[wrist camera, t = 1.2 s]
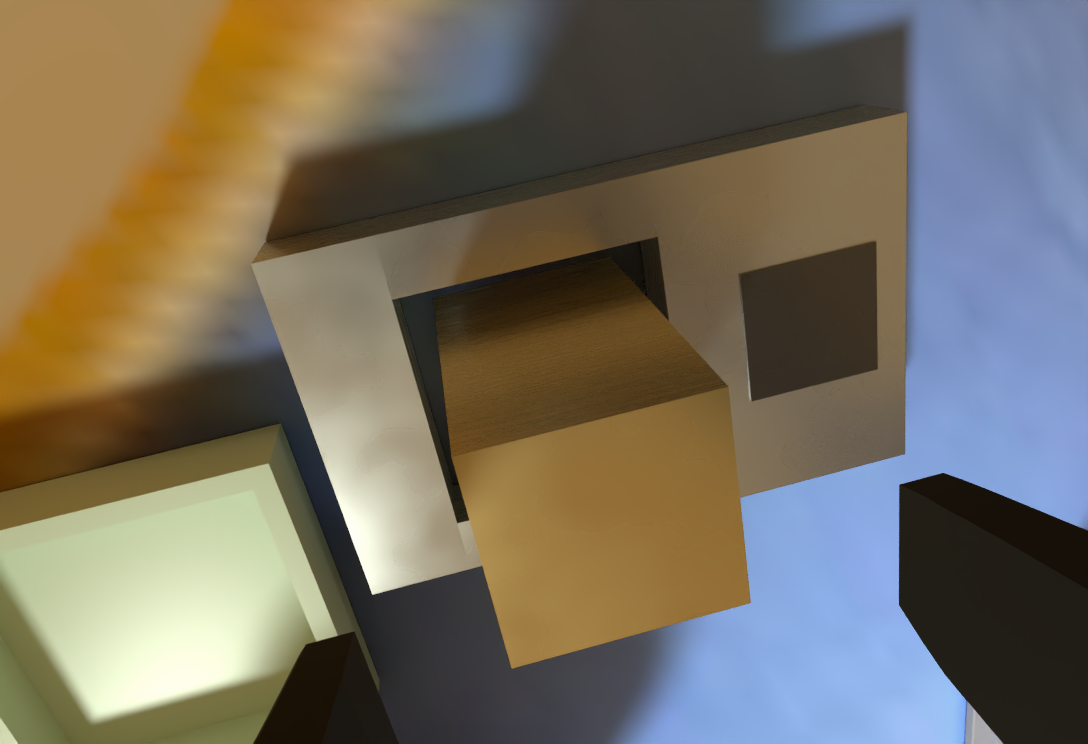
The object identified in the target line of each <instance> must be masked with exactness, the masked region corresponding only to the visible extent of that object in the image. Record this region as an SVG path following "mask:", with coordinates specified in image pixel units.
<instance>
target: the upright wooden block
mask: <svg viewBox="0 0 1088 744" xmlns="http://www.w3.org/2000/svg"><path fill="white" fill-rule="evenodd" d="M433 303H434V312H435V320H436V329H437V338H438V346H439V355H440V363H441V372H442V380H443V389H444V397H445V406H446V414H447V423H448V432H449V440H450V449H451V457H452V461H453V464H454V468H455V471H456V475H457V478H458V482H459V485H460V489H461V492H462V496H463V499H464V503H465V506H466V510H467V513H468V517H469V520H470V524H471V527H472V531H473V534H474V538H475V542H476V545H477V549H478V552H479V556H480V559H481V563H482V566H483V570H484V573H485V577H486V580H487V584H488V587H489V591H490V594H491V598H492V601H493V605H494V608H495V612H496V615H497V619H498V622H499V626H500V629H501V633H502V637H503V640H504V644H505V647H506V651H507V654H508V658H509V661H510V665H511V668H516V667H520V666H523V665H527V664H530V663H534V662H538V661H541V660H545V659H549V658H552V657H556V656H560V655H563V654H567V653H570V652H574V651H578V650H581V649H585V648H589V647H592V646H596V645H600V644H603V643H607V642H610V641H614V640H618V639H621V638H625V637H629V636H632V635H636V634H640V633H643V632H647V631H650V630H654V629H658V628H661V627H665V626H669V625H672V624H676V623H680V622H683V621H687V620H690V619H694V618H698V617H701V616H705V615H709V614H712V613H716V612H720V611H723V610H727V609H730V608H734V607H738V606H741V605H745V604H749V603H751V601H750V591H749V581H748V571H747V562H746V552H745V542H744V532H743V523H742V513H741V503H740V493H739V483H738V474H737V464H736V454H735V444H734V435H733V425H732V415H731V405H730V395H729V387H728V385H727V384H726V383H725V382H724V381H723V380H722V379H721V378H720V377H719V376H718V374H717V373H716V372H715V371H714V370H713V369H712V368H711V367H710V366H709V365H708V364H707V362H706V361H705V360H704V359H703V358H702V357H701V356H700V355H699V354H698V353H697V351H696V350H695V349H694V348H693V347H692V346H691V345H690V344H689V343H688V342H687V341H686V339H685V338H684V337H683V336H682V335H681V334H680V333H679V332H678V331H677V330H676V328H675V327H674V326H673V325H672V324H671V323H670V322H669V321H668V320H667V319H666V318H665V316H664V315H663V314H662V313H661V312H660V311H659V310H658V309H657V308H656V307H655V305H654V304H653V303H652V302H651V301H650V300H649V299H648V298H647V297H646V296H645V294H644V293H643V292H642V291H641V290H640V289H639V288H638V287H637V286H636V285H635V284H634V282H633V281H632V280H631V279H630V278H629V277H628V276H627V275H626V274H625V273H624V271H623V270H622V269H621V268H620V267H619V266H618V265H617V264H616V263H615V262H614V261H613V259H612V258H611V257H610V256H609V257H604V258H600V259H596V260H592V261H588V262H583V263H579V264H575V265H571V266H567V267H563V268H558V269H554V270H550V271H546V272H542V273H537V274H533V275H529V276H525V277H521V278H516V279H512V280H508V281H504V282H500V283H496V284H491V285H487V286H483V287H479V288H475V289H470V290H466V291H462V292H458V293H454V294H449V295H445V296H441V297H437V298H433Z"/></svg>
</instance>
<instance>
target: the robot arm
mask: <svg viewBox="0 0 1088 744" xmlns="http://www.w3.org/2000/svg"><path fill="white" fill-rule="evenodd" d="M899 606H900V607H901V609H902V610H903V612H904V613H905V615H906V617H907V618H908V620H909V621H910V623H911V624H912V626H913V628H914V629H915V631H916V632H917V634H918V635H919V637H920V638H921V640H922V642H923V643H924V645H925V646H926V647H927V649H928V650H929V652H930V653H931V655H932V656H933V658H934V659H935V661H936V662H937V664H938V665H939V667H940V668H941V669H942V671H943V672H944V674H945V675H946V676H947V677H948V679H949V680H950V681H951V682H952V683H953V685H954V686H955V687H956V688H957V690H958V691H959V692H960V693H961V694H962V696H963V697H964V698H965V699H966V700H967V714H966V733H965V744H1088V531H1087V530H1085V529H1082V528H1080V527H1077V526H1075V525H1073V524H1070V523H1068V522H1065V521H1063V520H1060V519H1058V518H1055V517H1053V516H1051V515H1048V514H1046V513H1043V512H1041V511H1039V510H1036V509H1034V508H1031V507H1029V506H1026V505H1024V504H1022V503H1019V502H1017V501H1014V500H1012V499H1009V498H1007V497H1005V496H1002V495H1000V494H997V493H995V492H992V491H990V490H987V489H985V488H982V487H980V486H977V485H975V484H972V483H970V482H967V481H964V480H962V479H959V478H956V477H953V476H950V475H948V474H945V473H941V474H938V475H934V476H930V477H926V478H923V479H919V480H915V481H912V482H908V483H904V484H900V485H899ZM253 744H398V741H397V739H396V736H395V734H394V731H393V728H392V726H391V723H390V721H389V718H388V716H387V713H386V711H385V708H384V705H383V703H382V700H381V698H380V695H379V693H378V690H377V687H376V685H375V682H374V680H373V677H372V675H371V672H370V670H369V667H368V664H367V662H366V659H365V657H364V654H363V652H362V649H361V646H360V644H359V641H358V639H357V636H356V634H355V631H353V632H350V633H346V634H342V635H339V636H335V637H331V638H327V639H324V640H320V641H316V642H312V643H309V644H306V645H305V647H304V648H303V650H302V651H301V653H300V654H299V656H298V658H297V660H296V662H295V664H294V666H293V668H292V670H291V672H290V674H289V675H288V677H287V679H286V681H285V683H284V685H283V687H282V689H281V691H280V693H279V695H278V697H277V699H276V701H275V703H274V705H273V707H272V708H271V710H270V712H269V714H268V716H267V718H266V720H265V722H264V724H263V726H262V727H261V729H260V731H259V733H258V735H257V737H256V739H255V741H254V743H253Z"/></svg>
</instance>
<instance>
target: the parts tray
mask: <svg viewBox="0 0 1088 744" xmlns="http://www.w3.org/2000/svg"><path fill="white" fill-rule="evenodd" d="M353 631H355V634H356V636H357V639H358V641H359V644H360V646H361V649H362V652H363V654H364V657H365V659H366V662H367V664H368V667H369V670H370V672H371V675H372V677H373V680H374V682H375V685H376V687H377V690H378V693H379V687H380V680H379V677H378V674H377V672H376V669H375V667H374V664H373V661H372V659H371V656H370V654H369V651H368V648H367V646H366V643H365V641H364V638H363V635H362V633H361V630H360V628H359V625H358V622H357V620H356V617H355V615H354V612H353V609H352V607H351V604H350V602H349V599H348V596H347V594H346V591H345V589H344V586H343V583H342V581H341V578H340V576H339V573H338V570H337V568H336V565H335V563H334V560H333V557H332V555H331V552H330V550H329V547H328V544H327V542H326V539H325V537H324V534H323V531H322V529H321V526H320V524H319V521H318V518H317V516H316V513H315V511H314V508H313V506H312V503H311V500H310V498H309V495H308V493H307V490H306V487H305V485H304V482H303V480H302V477H301V474H300V472H299V469H298V467H297V464H296V461H295V459H294V456H293V454H292V451H291V448H290V446H289V443H288V441H287V438H286V435H285V433H284V430H283V428H282V425H281V423H280V424H276V425H272V426H268V427H264V428H260V429H256V430H252V431H247V432H243V433H239V434H235V435H231V436H227V437H223V438H219V439H215V440H211V441H207V442H203V443H199V444H195V445H191V446H187V447H183V448H179V449H174V450H170V451H166V452H162V453H158V454H154V455H150V456H146V457H142V458H138V459H134V460H130V461H126V462H122V463H118V464H114V465H110V466H106V467H101V468H97V469H93V470H89V471H85V472H81V473H77V474H73V475H69V476H65V477H61V478H57V479H53V480H49V481H45V482H41V483H37V484H33V485H29V486H24V487H20V488H16V489H12V490H8V491H4V492H0V744H253V743H254V741H255V739H256V737H257V735H258V733H259V731H260V729H261V727H262V726H263V724H264V722H265V720H266V718H267V716H268V714H269V712H270V710H271V708H272V707H273V705H274V703H275V701H276V699H277V697H278V695H279V693H280V691H281V689H282V687H283V685H284V683H285V681H286V679H287V677H288V675H289V674H290V672H291V670H292V668H293V666H294V664H295V662H296V660H297V658H298V656H299V654H300V653H301V651H302V650H303V648H304V647H305V645H306V644H309V643H312V642H316V641H320V640H324V639H327V638H331V637H335V636H339V635H342V634H346V633H350V632H353Z"/></svg>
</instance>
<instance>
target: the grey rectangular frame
mask: <svg viewBox="0 0 1088 744" xmlns="http://www.w3.org/2000/svg"><path fill="white" fill-rule="evenodd" d="M906 206H907V112H904V111H898V110H892V109H886V108H880V107H874V106H868V105H861V106H857V107H852V108H848V109H844V110H839V111H835V112H831V113H826V114H822V115H818V116H813V117H809V118H805V119H800V120H796V121H792V122H787V123H783V124H779V125H774V126H770V127H765V128H761V129H757V130H752V131H748V132H744V133H739V134H735V135H731V136H726V137H722V138H718V139H713V140H709V141H705V142H700V143H696V144H692V145H687V146H683V147H679V148H674V149H670V150H665V151H661V152H657V153H652V154H648V155H644V156H639V157H635V158H631V159H626V160H622V161H618V162H613V163H609V164H605V165H600V166H596V167H592V168H587V169H583V170H579V171H574V172H570V173H565V174H561V175H557V176H552V177H548V178H544V179H539V180H535V181H531V182H526V183H522V184H518V185H513V186H509V187H505V188H500V189H496V190H492V191H487V192H483V193H479V194H474V195H470V196H465V197H461V198H457V199H452V200H448V201H444V202H439V203H435V204H431V205H426V206H422V207H418V208H413V209H409V210H405V211H400V212H396V213H392V214H387V215H383V216H379V217H374V218H370V219H365V220H361V221H357V222H352V223H348V224H344V225H339V226H335V227H331V228H326V229H322V230H318V231H313V232H309V233H305V234H300V235H296V236H292V237H287V238H283V239H279V240H274V241H270V242H265V243H264V244H263V246H262V248H261V249H260V251H259V252H258V254H257V255H256V257H255V259H254V260H253V262H252V263H251V265H252V268H253V271H254V273H255V276H256V279H257V282H258V284H259V287H260V290H261V292H262V295H263V298H264V301H265V303H266V306H267V309H268V312H269V314H270V317H271V320H272V322H273V325H274V328H275V331H276V333H277V336H278V339H279V342H280V344H281V347H282V350H283V352H284V355H285V358H286V361H287V363H288V366H289V369H290V372H291V374H292V377H293V380H294V382H295V385H296V388H297V391H298V393H299V396H300V399H301V402H302V404H303V407H304V410H305V412H306V415H307V418H308V421H309V423H310V426H311V429H312V431H313V434H314V437H315V440H316V442H317V445H318V448H319V451H320V453H321V456H322V459H323V461H324V464H325V467H326V470H327V472H328V475H329V478H330V481H331V483H332V486H333V489H334V491H335V494H336V497H337V500H338V502H339V505H340V508H341V511H342V513H343V516H344V519H345V521H346V524H347V527H348V530H349V532H350V535H351V538H352V541H353V543H354V546H355V549H356V551H357V554H358V557H359V560H360V562H361V565H362V568H363V571H364V573H365V576H366V579H367V581H368V584H369V587H370V590H371V592H372V595H374V594H377V593H381V592H385V591H389V590H393V589H396V588H400V587H404V586H408V585H411V584H415V583H419V582H423V581H427V580H430V579H434V578H438V577H442V576H445V575H449V574H453V573H457V572H461V571H464V570H468V569H472V568H476V567H480V566H482V563H481V559H480V556H479V552H478V549H477V545H476V542H475V538H474V534H473V531H472V527H471V524H470V520H469V517H468V513H467V510H466V506H465V503H464V499H463V496H462V492H461V489H460V485H459V484H458V485H454V486H453V484H452V480H451V477H450V473H449V470H448V467H447V463H446V460H445V456H444V453H443V449H442V446H441V442H440V439H439V435H438V432H437V428H436V425H435V421H434V418H433V415H432V411H431V408H430V404H429V401H428V397H427V394H426V390H425V387H424V383H423V380H422V376H421V373H420V369H419V366H418V362H417V359H416V356H415V352H414V349H413V345H412V342H411V338H410V335H409V331H408V328H407V324H406V321H405V317H404V314H403V310H402V307H401V304H400V300H399V298H402V297H406V296H410V295H414V294H419V293H423V292H427V291H431V290H435V289H440V288H444V287H448V286H452V285H456V284H461V283H465V282H469V281H473V280H477V279H482V278H486V277H490V276H494V275H498V274H503V273H507V272H511V271H515V270H520V269H524V268H528V267H532V266H536V265H541V264H545V263H549V262H553V261H557V260H562V259H566V258H570V257H574V256H578V255H583V254H587V253H591V252H595V251H599V250H604V249H608V248H612V247H616V246H620V245H625V244H629V243H633V242H637V241H639V242H640V249H641V256H642V263H643V270H644V277H645V284H646V291H647V298H648V299H649V300H650V301H651V302H652V303H653V304H654V305H655V307H656V308H657V309H658V310H659V311H660V312H661V313H662V314H663V315H664V316H665V318H666V319H667V320H668V321H669V322H670V323H671V324H672V325H673V326H674V327H675V328H676V330H677V331H678V332H679V333H680V334H681V335H682V336H683V337H684V338H685V339H686V341H687V342H688V343H689V344H690V345H691V346H692V347H693V348H694V349H695V350H696V351H697V353H698V354H699V355H700V356H701V357H702V358H703V359H704V360H705V361H706V362H707V364H708V365H709V366H710V367H711V368H712V369H713V370H714V371H715V372H716V373H717V374H718V376H719V377H720V378H721V379H722V380H723V381H724V382H725V383H726V384H727V385H728V387H729V395H730V405H731V415H732V425H733V435H734V444H735V454H736V464H737V474H738V483H739V493H740V498H741V497H744V496H748V495H752V494H756V493H759V492H763V491H767V490H771V489H775V488H778V487H782V486H786V485H790V484H794V483H797V482H801V481H805V480H809V479H812V478H816V477H820V476H824V475H828V474H831V473H835V472H839V471H843V470H847V469H850V468H854V467H858V466H862V465H865V464H869V463H873V462H877V461H881V460H884V459H888V458H892V457H896V456H899V455H903V454H905V376H906Z"/></svg>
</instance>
